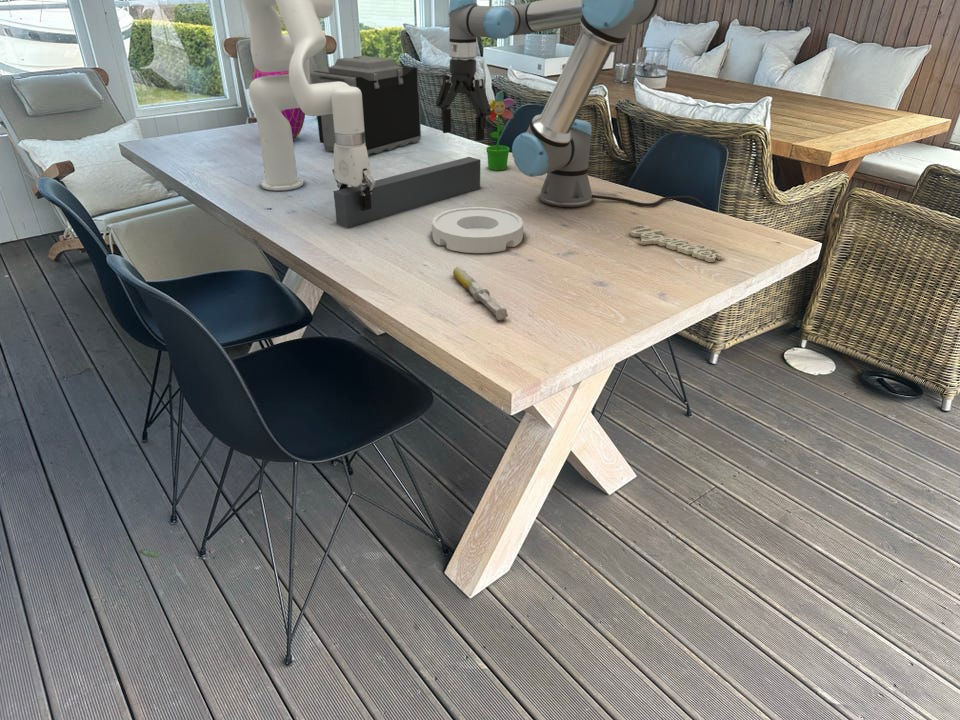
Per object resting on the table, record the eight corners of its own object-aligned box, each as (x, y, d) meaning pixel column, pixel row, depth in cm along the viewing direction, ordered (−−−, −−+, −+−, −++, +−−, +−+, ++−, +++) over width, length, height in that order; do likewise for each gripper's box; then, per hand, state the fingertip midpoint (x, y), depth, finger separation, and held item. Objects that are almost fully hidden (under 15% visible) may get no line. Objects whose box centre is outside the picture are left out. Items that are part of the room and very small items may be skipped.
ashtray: (436, 220, 186) (436, 206, 184) (521, 222, 186) (522, 207, 184) (428, 252, 166) (427, 236, 164) (523, 254, 166) (524, 238, 164)
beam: (468, 184, 216) (469, 156, 212) (480, 188, 213) (480, 159, 209) (336, 223, 184) (333, 191, 179) (347, 227, 181) (344, 195, 176)
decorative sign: (617, 232, 177) (640, 223, 183) (616, 235, 177) (640, 227, 183) (706, 262, 160) (729, 252, 166) (705, 266, 160) (728, 255, 166)
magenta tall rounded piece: (293, 132, 276) (283, 50, 261) (319, 140, 264) (310, 56, 249) (249, 139, 265) (236, 54, 250) (273, 148, 253) (261, 60, 238)
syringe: (449, 274, 155) (449, 263, 153) (465, 272, 156) (464, 260, 154) (490, 323, 135) (491, 310, 133) (508, 319, 136) (508, 307, 134)
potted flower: (491, 172, 228) (493, 92, 215) (480, 166, 234) (481, 88, 221) (516, 168, 232) (519, 90, 219) (504, 163, 238) (506, 86, 225)
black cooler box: (383, 133, 276) (378, 52, 261) (425, 141, 265) (422, 56, 250) (314, 150, 251) (304, 61, 235) (358, 160, 240) (350, 67, 224)
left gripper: (317, 135, 177) (324, 202, 186) (359, 147, 167) (365, 216, 176) (341, 131, 182) (347, 196, 191) (383, 142, 172) (387, 210, 181)
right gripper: (422, 55, 197) (425, 131, 208) (486, 64, 183) (485, 145, 193) (441, 53, 202) (442, 127, 213) (505, 61, 187) (503, 141, 198)
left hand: (355, 205), depth 183 cm, fingers open, 8 cm apart
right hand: (463, 136), depth 203 cm, fingers open, 13 cm apart
